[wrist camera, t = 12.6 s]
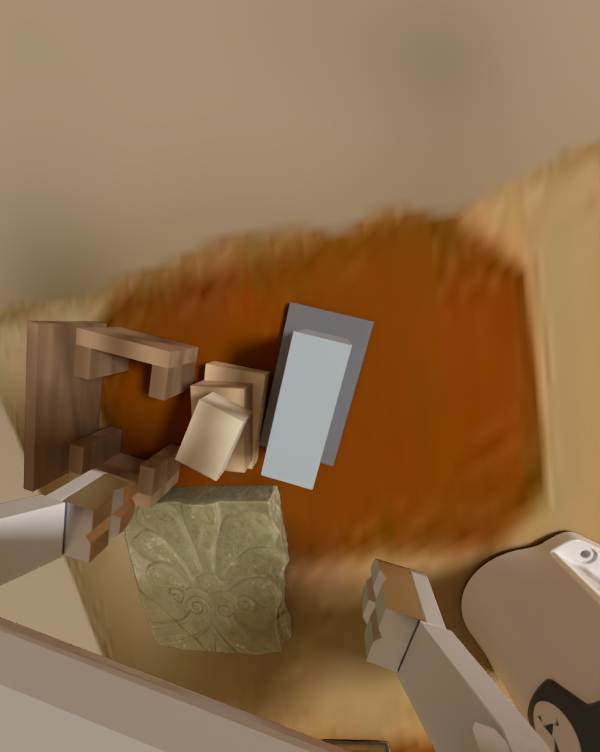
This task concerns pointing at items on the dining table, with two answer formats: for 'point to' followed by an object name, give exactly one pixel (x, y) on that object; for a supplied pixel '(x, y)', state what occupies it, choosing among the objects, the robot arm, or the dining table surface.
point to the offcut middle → (240, 396)
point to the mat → (358, 337)
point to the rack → (95, 403)
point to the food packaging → (361, 745)
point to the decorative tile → (213, 568)
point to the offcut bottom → (260, 387)
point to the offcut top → (213, 435)
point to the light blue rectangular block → (305, 406)
